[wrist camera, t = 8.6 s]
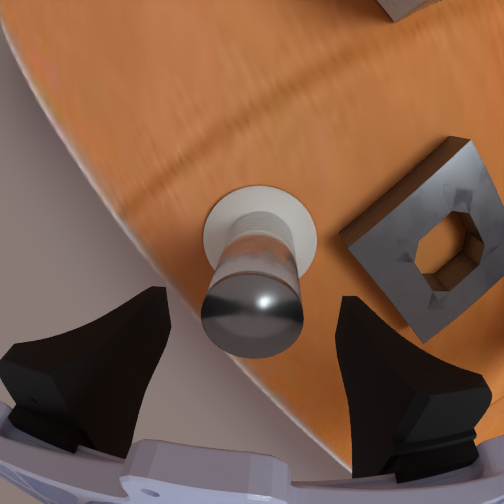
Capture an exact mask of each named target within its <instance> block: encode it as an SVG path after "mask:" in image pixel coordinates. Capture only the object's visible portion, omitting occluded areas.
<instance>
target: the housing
mask: <svg viewBox="0 0 504 504" xmlns="http://www.w3.org/2000/svg"><path fill="white" fill-rule="evenodd" d="M452 211H456V212H457V214H458V216H459V218H460V219H461V221H462V223H463V225H464V227H465V229H466V231H467V233H466V237H465V242H464V246H463V250H462V251H461V252H459V253H458V254H457V255H456V256H455V257H454V258H453V259H452V260H451V261H449V262H448V263H447V264H446V265H445V266H444V267H443V268H441V269H440V270H439V271H438V272H437V273H435V274H421V272H420V271H419V269H418V268H417V266H416V265H415V263H414V260H415V256H416V251H417V247H418V242H419V240H420V239H421V238H422V237H424V236H425V235H426V234H427V233H428V232H429V231H430V230H432V229H433V228H434V227H435V226H436V225H437V224H438V223H439V222H441V221H442V220H443V219H444V218H445V217H446V216H447V215H448V214H449V213H450V212H452ZM340 235H341V237H342V239H343V241H344V243H345V245H346V247H347V249H348V250H349V251H350V252H351V253H352V254H353V256H354V257H355V258H356V259H357V260H358V262H359V263H360V264H361V265H362V266H363V268H364V269H365V270H366V271H367V272H368V274H369V275H370V276H371V277H372V279H373V280H374V281H375V282H376V283H377V285H378V286H379V287H380V288H381V290H382V291H383V292H384V293H385V295H386V296H387V297H388V299H389V300H390V301H391V302H392V304H393V305H394V306H395V307H396V309H397V310H398V311H399V313H400V314H401V315H402V316H403V318H404V319H405V320H406V322H407V323H408V324H409V326H410V327H411V328H412V330H413V331H414V332H415V334H416V335H417V336H418V338H419V339H420V340H421V342H422V343H423V344H424V343H425V342H426V341H428V340H429V339H430V338H432V337H433V336H434V335H436V334H437V333H438V332H439V331H441V330H442V329H443V328H445V327H446V326H447V325H448V324H450V323H451V322H452V321H453V320H455V319H456V318H457V317H458V316H459V315H461V314H462V313H463V312H464V311H465V310H467V309H468V308H469V307H470V306H471V305H472V304H474V303H475V302H476V301H477V300H478V299H479V298H480V297H481V296H483V295H484V294H485V293H486V292H487V291H488V290H489V289H490V288H491V287H492V286H493V285H494V284H496V283H497V282H498V281H499V280H500V279H501V278H502V277H503V276H504V207H503V204H502V202H501V200H500V197H499V195H498V193H497V190H496V188H495V186H494V184H493V182H492V179H491V177H490V175H489V173H488V171H487V169H486V167H485V165H484V163H483V161H482V159H481V157H480V155H479V153H478V152H477V150H476V148H475V146H474V144H473V142H472V141H471V140H470V139H465V138H460V137H454V136H450V137H449V138H448V139H446V140H445V141H444V142H443V143H442V144H441V145H440V146H439V147H438V148H437V149H435V150H434V151H433V152H432V153H431V154H430V155H429V156H428V157H427V158H425V159H424V160H423V161H422V162H421V163H420V164H419V165H418V166H416V167H415V168H414V169H413V170H412V171H411V172H410V173H409V174H407V175H406V176H405V177H404V178H403V179H402V180H401V181H399V182H398V183H397V184H396V185H395V186H394V187H393V188H391V189H390V190H389V191H388V192H387V193H386V194H385V195H383V196H382V197H381V198H380V199H379V200H378V201H376V202H375V203H374V204H373V205H372V206H371V207H369V208H368V209H367V210H366V211H365V212H363V213H362V214H361V215H360V216H359V217H358V218H356V219H355V220H354V221H353V222H352V223H350V224H349V225H348V226H347V227H346V228H344V229H343V230H342V231H341V232H340Z"/></svg>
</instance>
